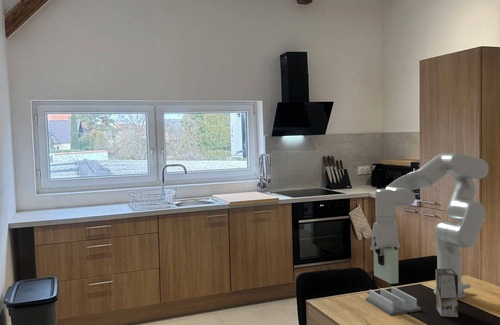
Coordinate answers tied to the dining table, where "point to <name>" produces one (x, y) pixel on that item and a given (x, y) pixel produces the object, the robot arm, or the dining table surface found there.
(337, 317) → the dining table surface
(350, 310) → the dining table surface
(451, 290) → the coffee box
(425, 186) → the robot arm
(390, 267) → the upright sage green tile
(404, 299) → the dish rack
